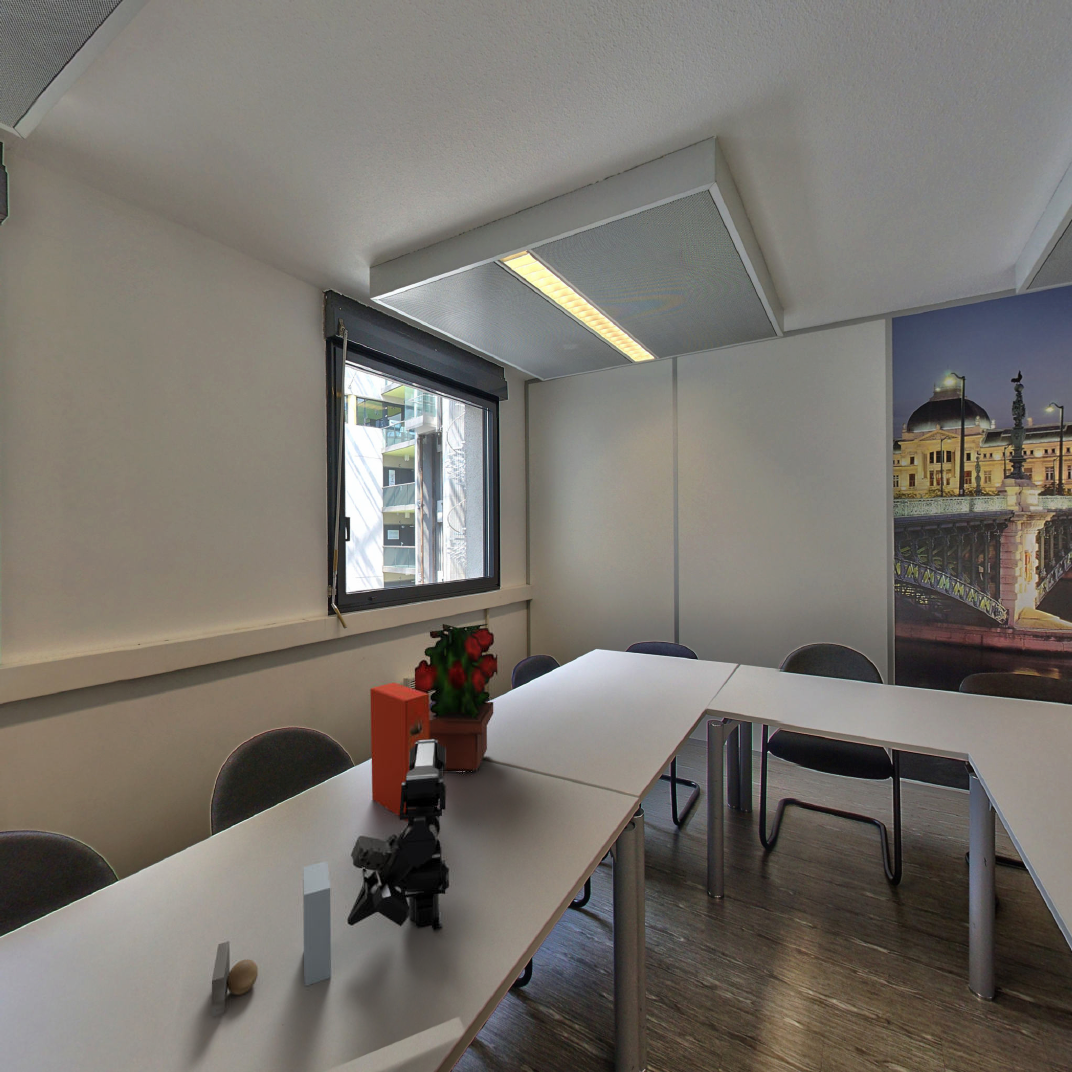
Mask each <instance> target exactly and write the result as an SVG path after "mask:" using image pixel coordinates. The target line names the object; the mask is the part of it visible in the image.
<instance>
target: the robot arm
mask: <svg viewBox="0 0 1072 1072" xmlns="http://www.w3.org/2000/svg"><path fill="white" fill-rule="evenodd" d="M409 770H410V771H409V772H408V773H407V775H406V780H405V782H402V787H401V802H400V816H398V817H399V818H398V819H399V821H406V820H405V819H408V821H407V824H406V825H405V827H404V828H403V829H402V830H401V832H400V833H399V834H398V835H396V834H393V835H390V836H389V837H388V838H387V839H386V840H382V839H379V838H375V837H371V836H370V837H369V836H366V835H359V836H358V837H357V839H356V840H355V841H356V842H355V844H354V846H353V849H352V852H350V857H352V865H353V866H354V868H357V869H362V871H361V872H362V873H361V874H362V885H361V888H360V890H359V893H358V895H357V898H356V899H355V902H354V903H353V906H352V908H351V910H350V913H349V914H348V917H347V924H348V925H349V926H352V927H353V926H355V925H356V924H358V923H359V922H362V921H363V920H364V919H367V918H369V917H371V916H372V915H374V914H376V913H379V914H380V915H382V916H384V917H385V918H386V919H388V920H390V921H391V922H393V923H394V924H396V925H398V926H399V927H401V926H403V925H404V923H406V921H407V920H408V919H409V920H410V921H411V922H412V923H414V924H415V927H417V929H422V928H427V927H431V929H432V931H435V930H440V929H442V928H443V921H442V920H443V919H442V913H441V910H442V909H441V905H440V899H439V898H440V894H441V895H444V894H446V890H447V889H448V888H449V887H450V871H449V869H450V868H449V867H448V866H447V863H446V860H443V859H442V858H443V857H442V856H443V855H442V852H443V851H442V846H441V842H440V840H439V838H438V836H439V834H440V832H441V822H440V817H443V811H444V810H446V807H447V806H446V804H447V803H446V795H447V793H446V792H447V791H446V790H447V788H446V787H447V786H446V784H445V783H444V777H443V776H444V772H443V770H446V748H445V747H443V746H441V745H439V744H438V740H435V739H427V740H419V741H416V743H415V747H413V748H412V749H411V750H410V754H409ZM405 802H406V804H405ZM404 805H405V808H406V809H405V813H404ZM438 807H439V808H438ZM410 808H413V809H410ZM397 888H399V889H400V891H399V890H397ZM407 898H408V900H407Z"/></svg>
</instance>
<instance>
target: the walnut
mask: <svg viewBox="0 0 1072 1072" xmlns="http://www.w3.org/2000/svg"><path fill="white" fill-rule="evenodd" d="M258 975H259V970H258V966H257V964H256V962H255V961H254V960H252V959H243V960H240V961H238V962H237V963H236V964H234V965H233V966H232V968H231V969H230V973H229V975H228V978H227V987H228V991H229V992H230V993H231V994H233V995H235V996H236V995H238V996H239V995H243V994H245V993H247V992H249V990H251V989H252V987H253V986H254V985H255V983H256V981H257V979H258Z"/></svg>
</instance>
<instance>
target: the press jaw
mask: <svg viewBox="0 0 1072 1072" xmlns="http://www.w3.org/2000/svg"><path fill="white" fill-rule="evenodd" d="M302 885H303V886H302V889H303V890H302V895H303V896H302V898H303V902H302V903H303V907H302V908H303V913H302V915H303V919H302V920H303V968H304V970H303V972H304V987H307V986H310V985H313V984H317V983H319V982H322V981H325V980H328V979H331V977H332V969H331V968H332V952H331V951H332V947H331V946H332V945H331V943H332V941H331V940H332V939H331V938H332V937H331V936H332V935H331V933H332V932H331V930H332V928H331V917H332V916H331V882H330V874H329V866H328V860H327V861H321V862H318V863H314V864H309V865H307V866H303V867H302Z"/></svg>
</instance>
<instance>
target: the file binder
mask: <svg viewBox="0 0 1072 1072" xmlns="http://www.w3.org/2000/svg"><path fill="white" fill-rule="evenodd" d="M369 695H370V735H371V736H370V739H371V740H370V743H371V744H370V745H371V749H370V750H371V796H372V797H371V798H372V800H373V801H374V802H376V803H378V804H379V805H381V806H382V807H384V808H385V809H387V810H388V811H390V812H392V813H393V814H395V815H397V816H398V817H399V816H400V802H401V787H402V782H405V780H406V775H407V773H408V772H409V771H410V770H409V754H410V750H411V749H412V748H413V747H415V743H416V741H419V740H427V739H430V730H429V710H430V695H429V693H428V694H427V693H424V692H421V691H418V690H415V688H411V687H408V686H406V685H402V684H401V683H396V682H390V683H387V684H383V685H379V686H375V687H372V688H370V694H369ZM405 804H406V802H405ZM405 809H406V808H405V805H404V813H405ZM410 809H413V808H410ZM404 821H406V822H408V819H405V820H404Z"/></svg>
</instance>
